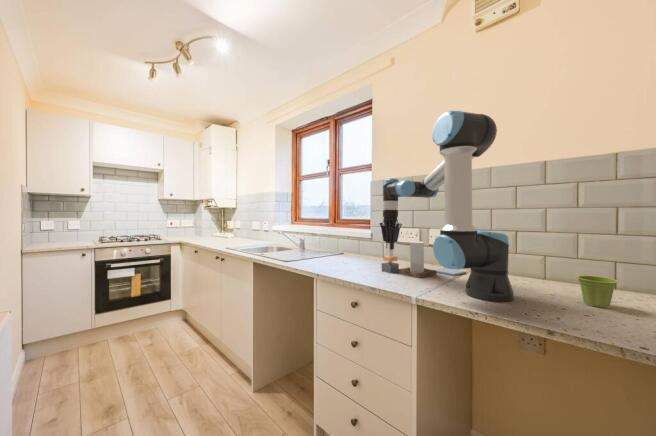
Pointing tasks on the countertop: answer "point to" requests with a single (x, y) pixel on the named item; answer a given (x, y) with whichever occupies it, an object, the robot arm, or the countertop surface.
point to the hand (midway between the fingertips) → (390, 255)
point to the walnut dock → (426, 273)
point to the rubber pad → (450, 271)
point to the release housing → (390, 267)
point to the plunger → (389, 259)
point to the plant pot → (597, 290)
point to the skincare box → (417, 257)
